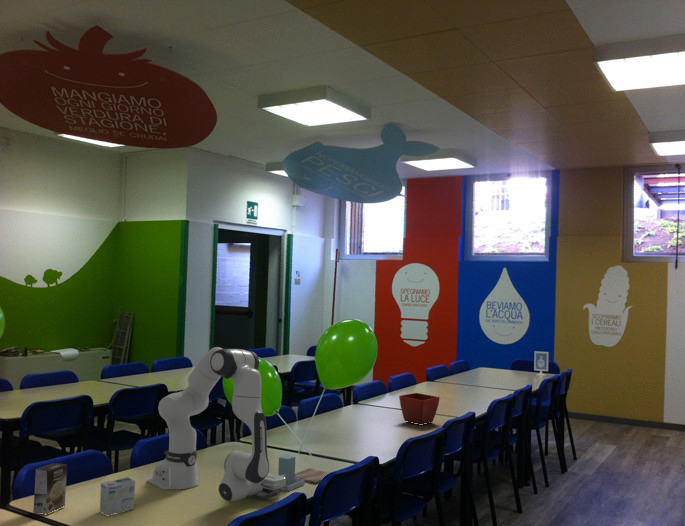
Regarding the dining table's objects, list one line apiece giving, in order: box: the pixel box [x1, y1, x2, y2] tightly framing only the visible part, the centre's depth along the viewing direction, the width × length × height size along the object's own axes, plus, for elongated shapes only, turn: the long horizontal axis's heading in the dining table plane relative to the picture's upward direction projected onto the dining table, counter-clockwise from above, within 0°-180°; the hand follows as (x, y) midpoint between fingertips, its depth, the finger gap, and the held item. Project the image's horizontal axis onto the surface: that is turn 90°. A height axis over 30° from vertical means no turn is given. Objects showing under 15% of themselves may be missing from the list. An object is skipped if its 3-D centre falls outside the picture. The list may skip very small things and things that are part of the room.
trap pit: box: [247, 487, 278, 502], centre depth 248 cm, size 9×9×2 cm
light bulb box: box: [99, 476, 136, 516], centre depth 227 cm, size 11×7×11 cm, turn 135°
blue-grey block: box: [277, 454, 296, 486], centre depth 262 cm, size 5×5×12 cm
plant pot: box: [398, 392, 441, 424], centre depth 391 cm, size 19×19×17 cm
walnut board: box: [295, 467, 330, 485], centre depth 274 cm, size 14×14×1 cm
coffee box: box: [32, 462, 68, 514], centre depth 225 cm, size 9×6×16 cm
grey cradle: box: [278, 478, 305, 492], centre depth 261 cm, size 11×11×2 cm
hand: (275, 473), depth 256 cm, fingers open, 8 cm apart
